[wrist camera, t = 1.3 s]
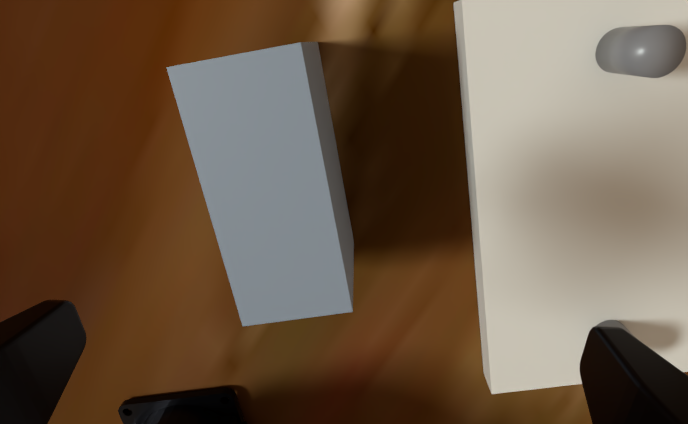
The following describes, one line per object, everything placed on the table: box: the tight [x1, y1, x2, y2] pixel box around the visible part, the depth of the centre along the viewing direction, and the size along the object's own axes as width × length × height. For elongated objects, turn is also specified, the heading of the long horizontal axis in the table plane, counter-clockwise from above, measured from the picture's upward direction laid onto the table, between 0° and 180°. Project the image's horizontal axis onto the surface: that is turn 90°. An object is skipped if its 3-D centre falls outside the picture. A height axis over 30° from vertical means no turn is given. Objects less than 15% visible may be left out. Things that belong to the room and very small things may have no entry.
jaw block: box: [166, 42, 354, 326], centre depth 17 cm, size 4×9×6 cm, turn 10°
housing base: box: [454, 0, 688, 394], centre depth 18 cm, size 11×18×4 cm, turn 10°
